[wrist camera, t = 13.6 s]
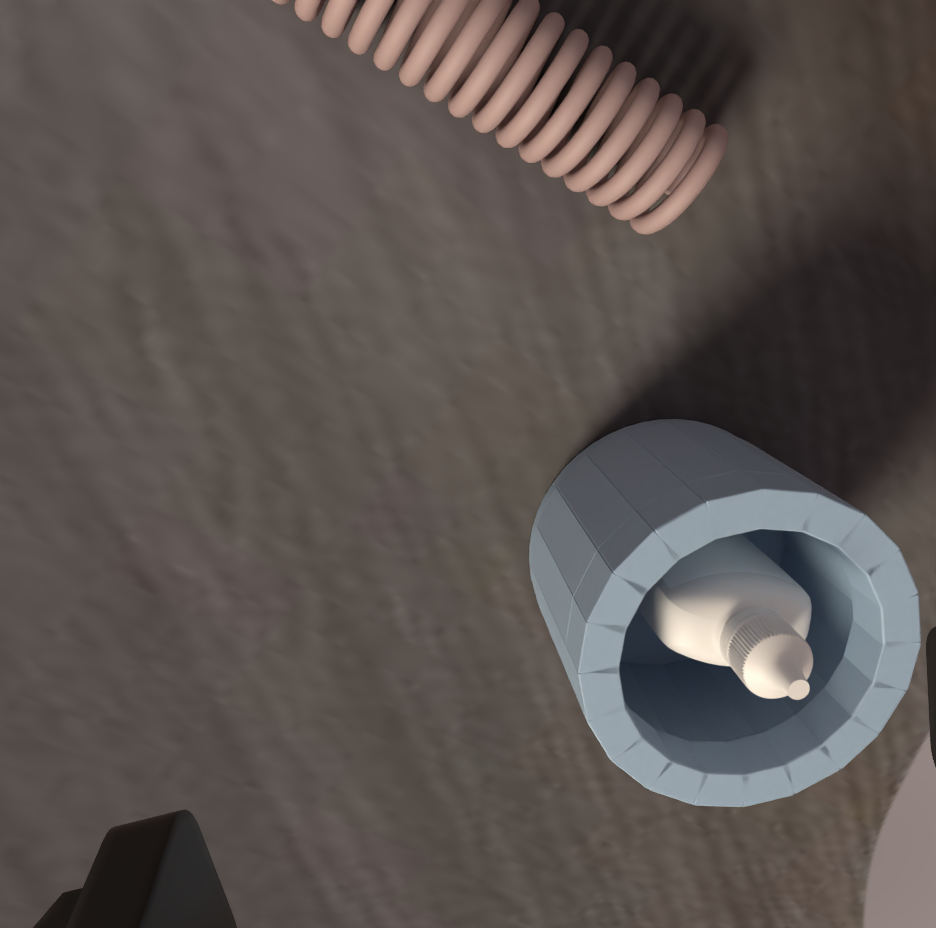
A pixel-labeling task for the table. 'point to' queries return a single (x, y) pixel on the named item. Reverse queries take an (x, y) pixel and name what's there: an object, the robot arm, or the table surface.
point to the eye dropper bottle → (736, 616)
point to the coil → (543, 98)
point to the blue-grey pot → (695, 682)
